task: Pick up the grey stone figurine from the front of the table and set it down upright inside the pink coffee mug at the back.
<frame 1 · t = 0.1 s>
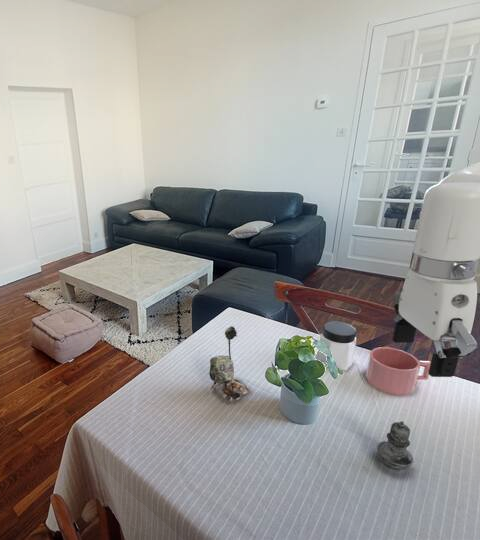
hand: (420, 357, 58), 28 cm above the table, tool pointing down, fingers open, 9 cm apart
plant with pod: (227, 393, 95), on the table
grey stone figurine: (391, 466, 70), on the table
pink coffee mug: (389, 383, 91), on the table
jar: (334, 363, 102), on the table
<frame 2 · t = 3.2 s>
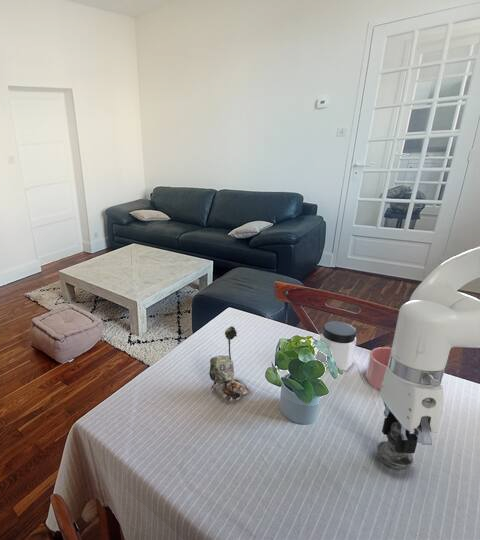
hand: (397, 441, 68), 7 cm above the table, tool pointing down, fingers closed on grey stone figurine, 3 cm apart
grey stone figurine: (391, 466, 70), on the table, touching gripper
everything else where it was.
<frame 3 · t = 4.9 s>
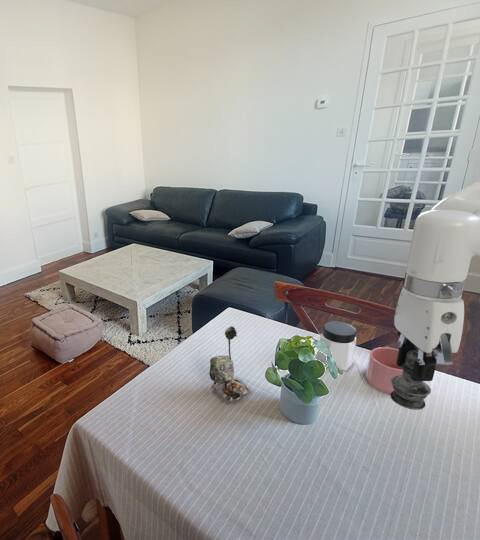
hand: (413, 371, 64), 22 cm above the table, tool pointing down, fingers closed on grey stone figurine, 3 cm apart
grey stone figurine: (407, 400, 66), point 15 cm above the table, touching gripper
everything else where it was.
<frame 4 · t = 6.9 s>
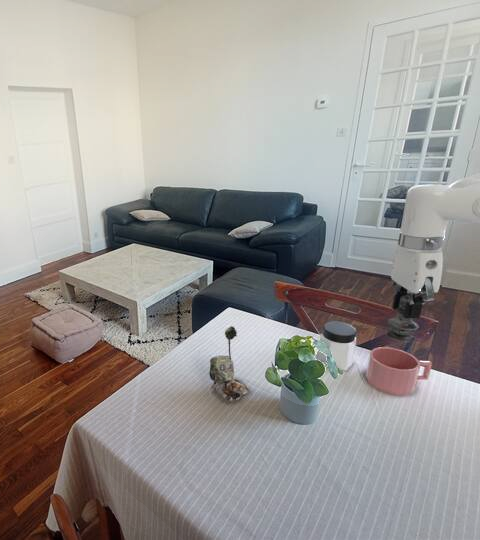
hand: (405, 312, 82), 23 cm above the table, tool pointing down, fingers closed on grey stone figurine, 3 cm apart
grey stone figurine: (400, 336, 84), point 16 cm above the table, touching gripper
everything else where it was.
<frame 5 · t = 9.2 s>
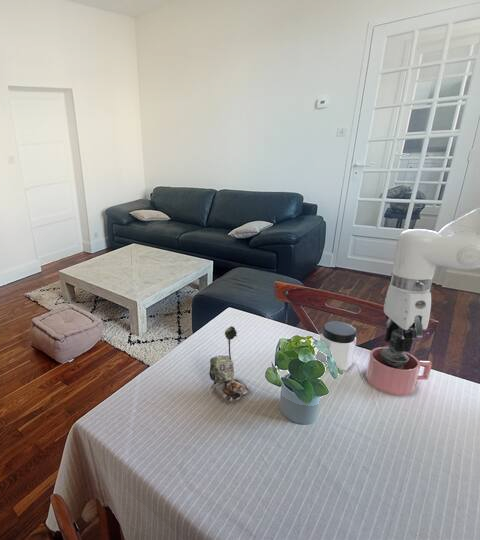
hand: (396, 345, 87), 12 cm above the table, tool pointing down, fingers closed on grey stone figurine, 3 cm apart
grey stone figurine: (392, 367, 90), point 5 cm above the table, touching gripper
everything else where it was.
when the fingers open (8 cm above the table, at t = 10.6 s): grey stone figurine stays where it is, resting on pink coffee mug.
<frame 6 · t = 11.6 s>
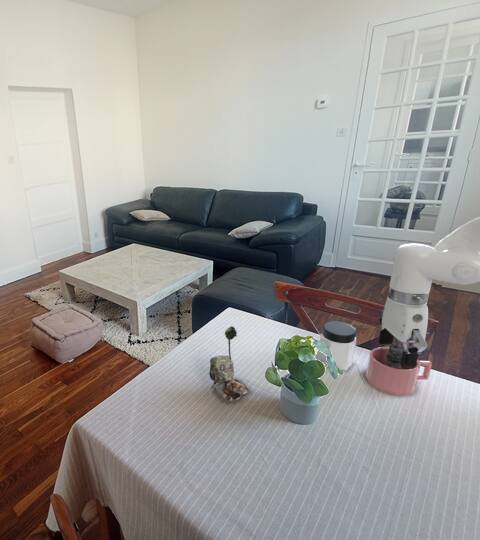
hand: (395, 353, 88), 9 cm above the table, tool pointing down, fingers open, 9 cm apart
grey stone figurine: (389, 380, 91), point 1 cm above the table, touching pink coffee mug
everything else where it was.
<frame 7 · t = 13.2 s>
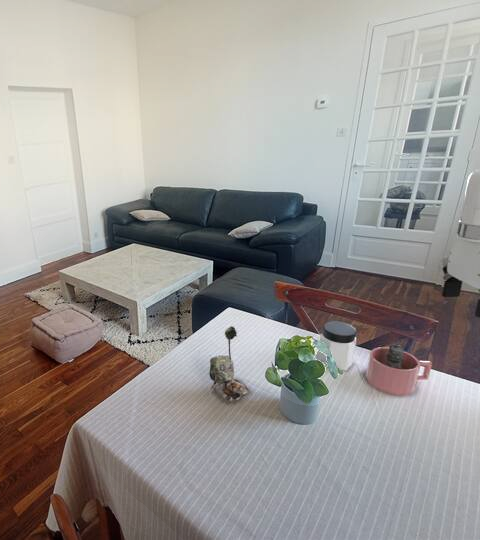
hand: (466, 305, 74), 27 cm above the table, tool pointing down, fingers open, 9 cm apart
nothing on the table moved.
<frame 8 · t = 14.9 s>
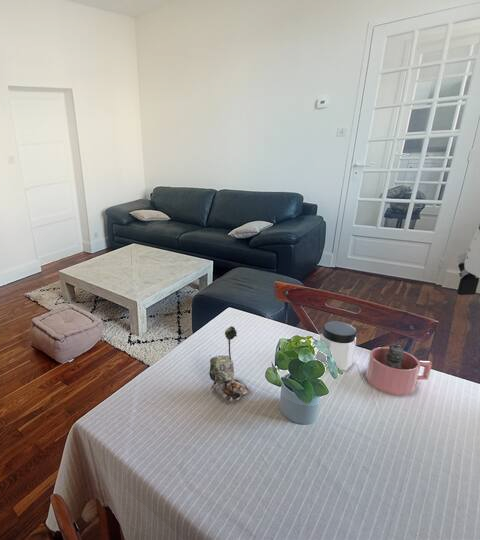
nothing on the table moved.
at the end: grey stone figurine 0.0 cm off-centre in the pink coffee mug, point 0.8 cm above the pink coffee mug's base; grey stone figurine tilted 0°; the gripper is holding nothing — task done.
